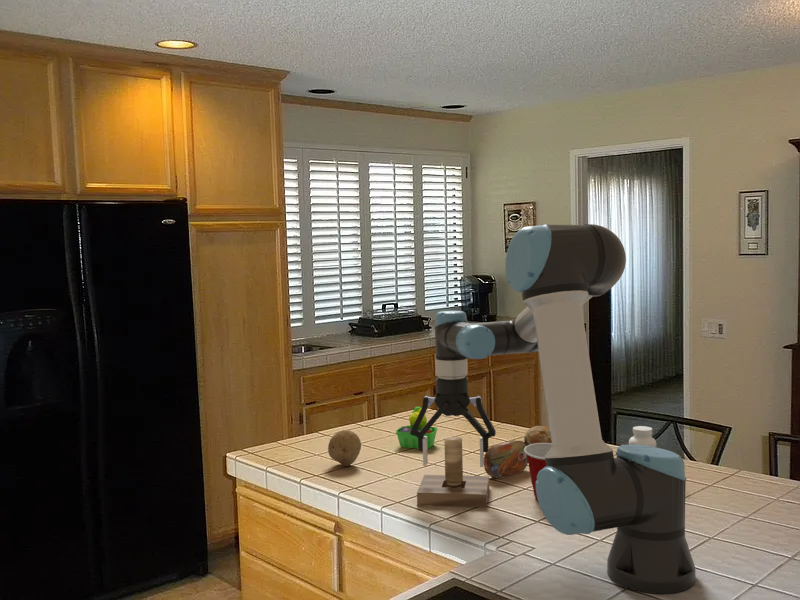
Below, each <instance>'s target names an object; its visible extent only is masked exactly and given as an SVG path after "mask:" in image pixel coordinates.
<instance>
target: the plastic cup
mask: <svg viewBox="0 0 800 600" xmlns="http://www.w3.org/2000/svg"><path fill="white" fill-rule="evenodd" d="M551 446H552V443H535V444H530V445H528V446H526V447H525V448H524V452H525V453H526V456H527V460H528V464H527V465H528V469H529V474H530V480H531V485H532V490H533V495H534V498H535V500H536V501H538V499H537V494H536V481H537V475H538V473H539V471H540V470H542V469H543V468H544V467H546V460H545V455H546V454H547V452H548V451H549V450H550V449H551Z"/></svg>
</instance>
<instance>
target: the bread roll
mask: <svg viewBox="0 0 800 600" xmlns="http://www.w3.org/2000/svg"><path fill="white" fill-rule="evenodd" d="M523 442H524V443H525V444H526V445H527V446H528V445H530V444H535V443H552V441H551V434H550V427H548V426H546V425H536V426H533V427H530V428H529V429H528V430H527V431H526V433H525V434H524V438H523Z"/></svg>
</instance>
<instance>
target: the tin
mask: <svg viewBox="0 0 800 600" xmlns="http://www.w3.org/2000/svg"><path fill="white" fill-rule="evenodd" d="M526 446H527V445H526V444H525V443H524V440H523V441H522V440H514V439H512V440H508V441H504V442H501V443H497V444H496V445H491V446H490V447H488V452H484V466H483V468H484V471H485V473H486V474H487V476H489V477H492V478H495V479H499V480H501V479H504V478H507V477H510V475H511V476H513V474H514V475H516V474H520V473H522V472H524V471H525V469H526V468H527V466H528V465H529V464H528V460H527V456H526V453H525V452H524V448H525V447H526ZM503 477H504V478H503ZM500 478H501V479H500Z"/></svg>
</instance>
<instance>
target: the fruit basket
mask: <svg viewBox="0 0 800 600" xmlns="http://www.w3.org/2000/svg"><path fill="white" fill-rule="evenodd" d="M422 407H423V406H415V407H414V409H413V411H412V412H411V414H410V416H409V417H408V418H409V419H408V421H409V425H404V426H401V427H399V428H398V429H396V430H395V434H396V436H397V438H398V443H399V446H400V448H402V447H404V448H403V449H407V448H408V449H418V437H416V436H414V435H413V436H412V435H411V434H410V432H411V430H412V428H413V426H414V424H415V421H416V419H417V417H418V415H419V413H420V411H421V409H422ZM427 420H428V419H427V416H426V414H425V415H424V417H423V419H422V421H421V423H420V425H419V427H418V429H417V430H419V431H421V430H422V428H423V427H424V426H425V425H426V424H427V422H428V421H427ZM437 432H438V427H436V426H431V428H430V429H429V430H428V431H427V432H426V434H425V435H424V436H427V450H429V449H431V447H433V445H434V444H435V440H436V436H437Z"/></svg>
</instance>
